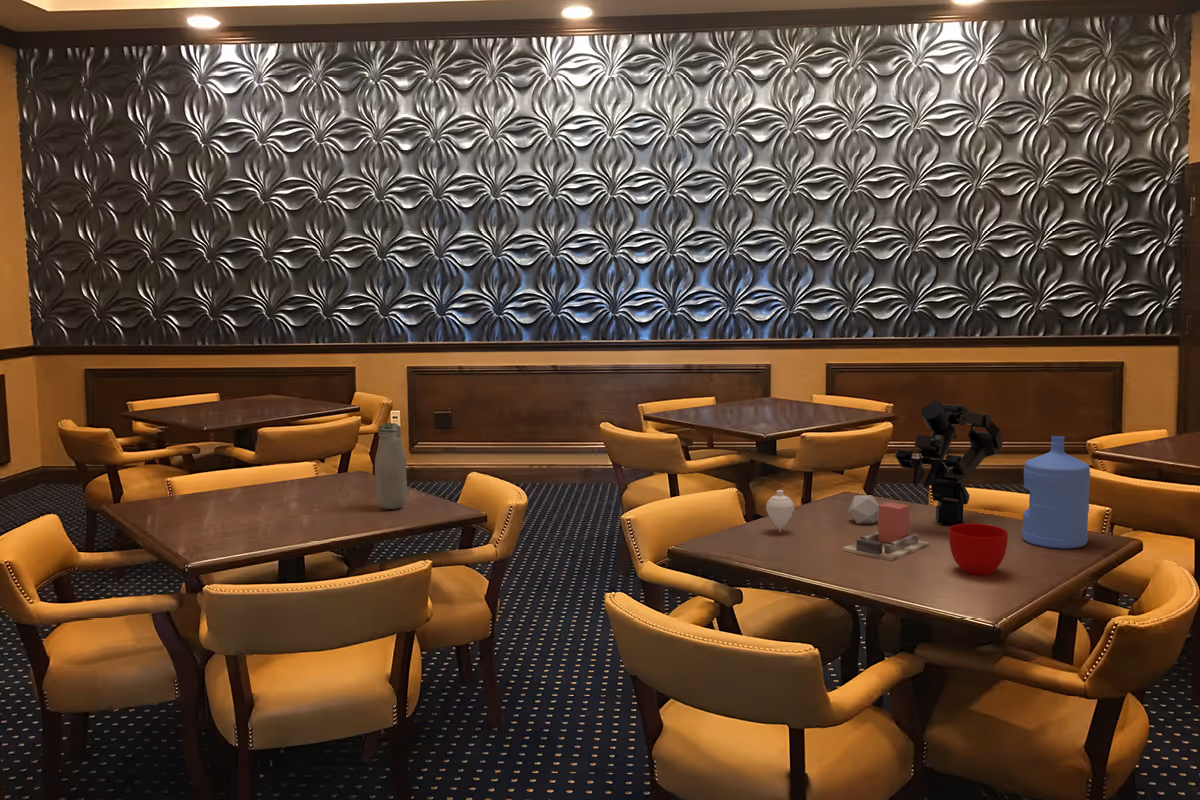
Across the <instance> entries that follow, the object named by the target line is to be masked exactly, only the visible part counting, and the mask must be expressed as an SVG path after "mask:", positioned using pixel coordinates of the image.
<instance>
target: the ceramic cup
mask: <svg viewBox="0 0 1200 800" xmlns="http://www.w3.org/2000/svg"><path fill="white" fill-rule="evenodd" d="M1008 533H1009V532H1008V531H1007V530H1006V529H1004V528H1002V527H999V526H995V525H990V524H983V523H965V524H957V525H950V526H949V528H948V539H949V546H950V547H949V549H950V552H951V555H952V558H953V560H954V561H955V563H956V564H957V565H958V567H959V568H960V569H961V570H962V572H963V573H965V574H969V575H973V576H974V575H975V576H988V575H991V574H993V572H994V571H996V569H997V568H998V567H999V566H1000V565H1001V564H1002V562H1003V560H1004V558H1005V554H1006V553H1007V552H1006V551H1007V547H1008V539H1009V534H1008Z"/></svg>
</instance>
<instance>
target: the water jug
mask: <svg viewBox="0 0 1200 800" xmlns="http://www.w3.org/2000/svg"><path fill="white" fill-rule="evenodd" d="M1065 438H1066V437H1065V436H1062V435H1051V437H1050V439H1051V442H1050V451H1049V452H1046V453H1044V454H1041V455H1039V456H1036V457H1033V458H1031V459H1029V460H1026V461H1025V463H1024V468H1023V487H1024V489H1025V490H1028V491H1029V497H1028V498H1029V501H1028V504H1029V505H1028V508H1027V509H1026V510H1024V511H1023V513H1022V529H1021V537H1022V539H1023V540H1024V541H1025V542H1027V543H1029V544H1031V545H1036V546H1039V547H1044V548H1049V549H1050V548H1052V549H1066V550H1067V549H1068V550H1069V549H1077V548H1078V549H1079V548H1081V547H1084V546H1086V545H1087V543H1088V540H1089V539H1088V538H1089V534H1088V529H1089V528H1088V527H1089V526H1088V525H1089V523H1088V522H1089V512H1090V503H1089V499H1090V498H1089V497H1090V483H1091V471H1090V470H1091V467H1090V465H1089V463H1086V462H1084V461H1083V460H1081V459H1079V458H1076V457H1074V456H1072V455H1070V454H1068V453H1066V452H1065Z"/></svg>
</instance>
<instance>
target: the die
mask: <svg viewBox="0 0 1200 800" xmlns="http://www.w3.org/2000/svg"><path fill="white" fill-rule="evenodd" d="M879 505H880V504H879V503H878V502H877V500H876V499H875V497H874V496H873V495H871V494H869V495H868V494H866V495H854V496H853V498H852V501H851V503H850V505H849V508H848V510H847V511H848V513H849V514H850V515H851V517H852V519H853V520H854V521H855V523H856V525H859V524H860V525H862V524H864V525H865V524H867V525H868V524H875V523H876V521H877V519H878V516H879Z"/></svg>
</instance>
